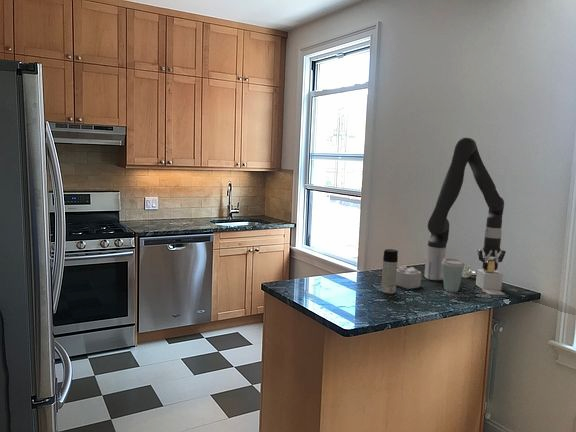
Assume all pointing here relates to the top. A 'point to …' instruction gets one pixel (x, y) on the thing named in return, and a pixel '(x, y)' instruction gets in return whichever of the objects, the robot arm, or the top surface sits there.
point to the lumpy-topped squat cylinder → (408, 277)
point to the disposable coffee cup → (452, 273)
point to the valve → (468, 271)
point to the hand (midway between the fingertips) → (489, 269)
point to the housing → (489, 280)
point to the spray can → (389, 271)
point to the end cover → (490, 266)
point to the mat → (494, 292)
